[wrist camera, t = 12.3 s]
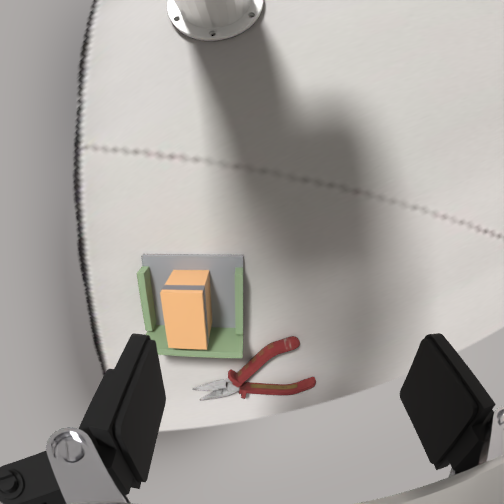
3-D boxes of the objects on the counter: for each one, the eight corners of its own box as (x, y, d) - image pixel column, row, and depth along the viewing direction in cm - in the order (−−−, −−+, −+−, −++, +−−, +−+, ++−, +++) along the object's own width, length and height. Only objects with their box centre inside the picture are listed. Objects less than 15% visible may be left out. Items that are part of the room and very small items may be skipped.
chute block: (172, 269, 41) (159, 292, 35) (209, 269, 42) (202, 292, 35) (178, 320, 44) (168, 348, 37) (212, 321, 44) (207, 349, 38)
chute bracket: (143, 254, 42) (126, 272, 35) (243, 254, 42) (242, 274, 35) (153, 327, 45) (140, 353, 39) (243, 330, 46) (242, 358, 39)
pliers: (181, 367, 49) (178, 377, 46) (296, 330, 46) (298, 340, 44) (211, 409, 52) (210, 419, 50) (315, 379, 50) (318, 389, 47)
